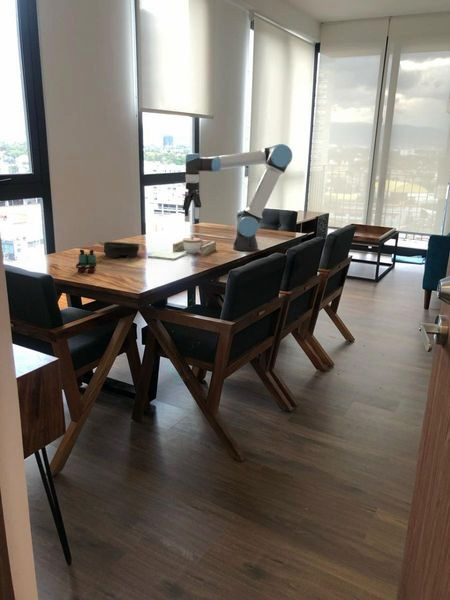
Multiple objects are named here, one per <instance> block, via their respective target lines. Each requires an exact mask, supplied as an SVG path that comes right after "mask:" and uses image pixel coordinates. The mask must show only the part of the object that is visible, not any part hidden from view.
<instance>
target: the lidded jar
mask: <svg viewBox="0 0 450 600" xmlns="http://www.w3.org/2000/svg"><path fill="white" fill-rule="evenodd" d="M182 240H183V246H184V249H183V250H185V251H186V254H187V253H188V254H197V253H199V252H200V251H201V249H200V248H201V240H202V238H199V237H194V236H193V235H192V236H190V237H184V238H183V239H182Z"/></svg>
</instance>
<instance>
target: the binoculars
mask: <svg viewBox="0 0 450 600" xmlns="http://www.w3.org/2000/svg"><path fill="white" fill-rule="evenodd" d="M79 252H80V253H79V254H78V262H77V263H76V264H75V268H76V269H77V274H84V273H85V272H87V273H88V274H93V273H95V271H97V269H96V267H97V266H98V265H97V258H96V254H95V253H94V252H95V250H94V249H90V250H89V251H88V252H89V253H85V249H79ZM86 270H87V271H86Z"/></svg>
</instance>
